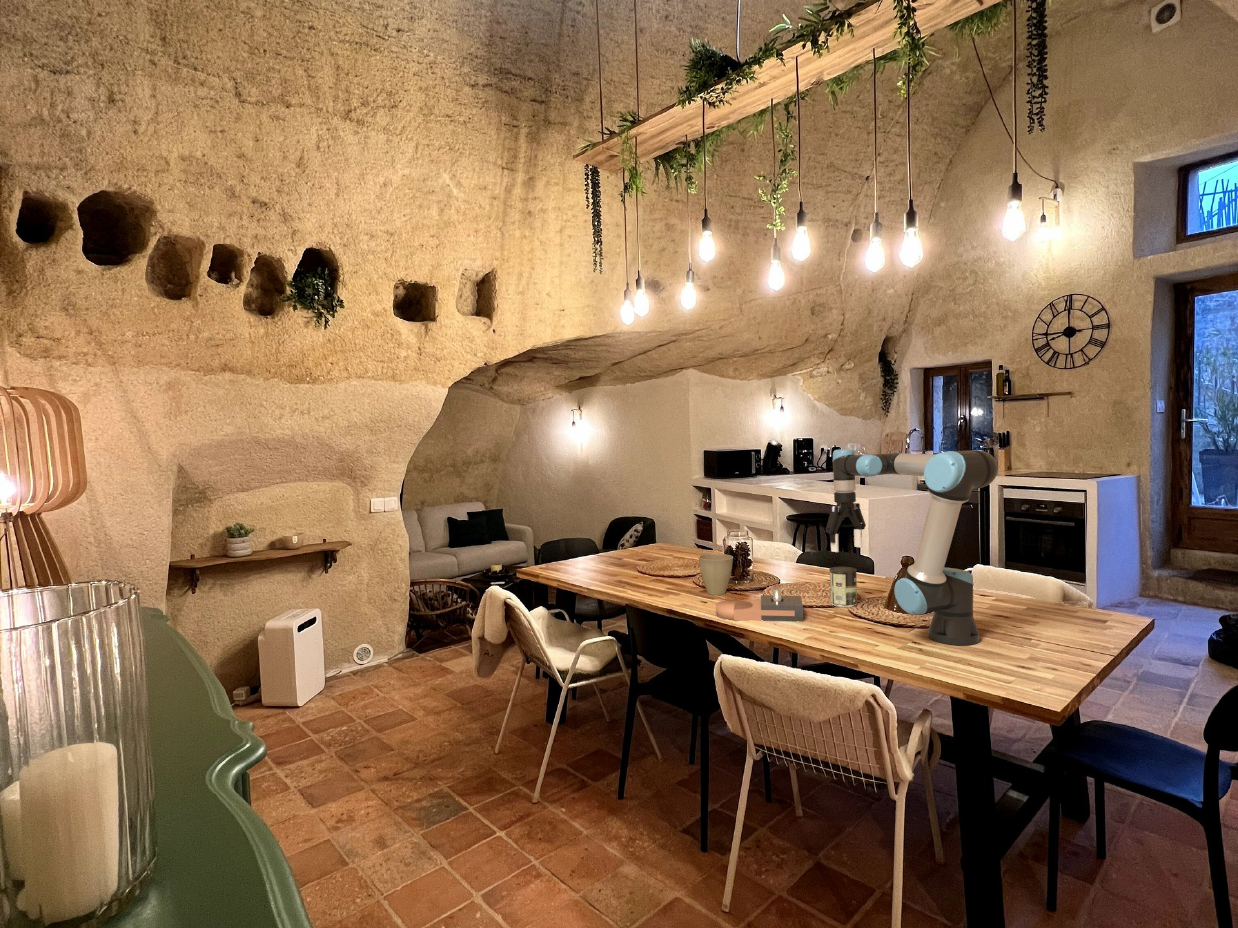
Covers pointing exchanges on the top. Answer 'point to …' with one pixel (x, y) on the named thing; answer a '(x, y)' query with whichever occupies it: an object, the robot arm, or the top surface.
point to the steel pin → (776, 595)
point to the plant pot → (716, 572)
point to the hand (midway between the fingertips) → (846, 549)
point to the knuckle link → (746, 610)
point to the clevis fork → (783, 608)
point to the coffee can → (843, 586)
